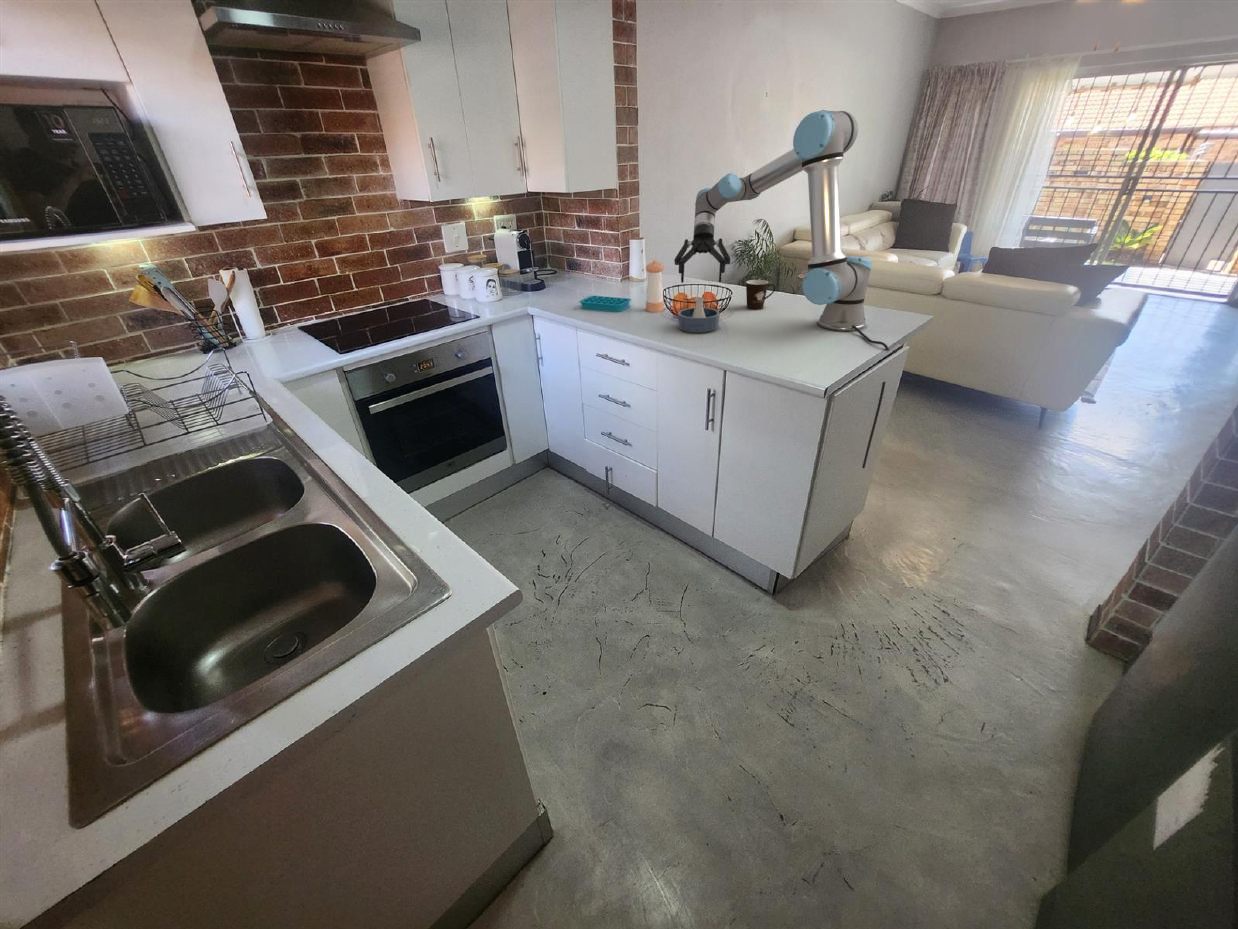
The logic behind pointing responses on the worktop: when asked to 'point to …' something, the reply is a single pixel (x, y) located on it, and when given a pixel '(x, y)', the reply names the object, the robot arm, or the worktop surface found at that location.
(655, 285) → the pepper shaker
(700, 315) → the flask
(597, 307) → the ice cube tray
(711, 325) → the bowl
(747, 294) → the coffee mug
